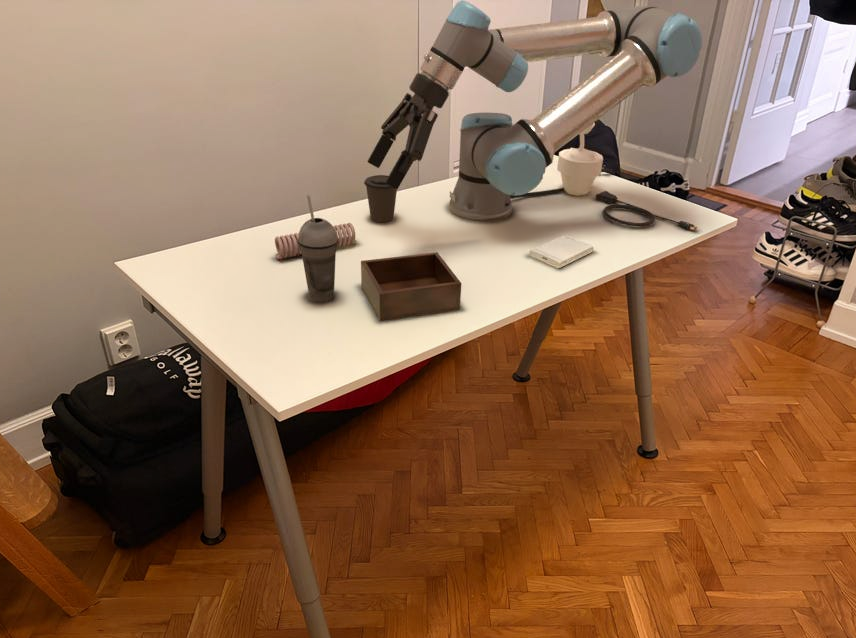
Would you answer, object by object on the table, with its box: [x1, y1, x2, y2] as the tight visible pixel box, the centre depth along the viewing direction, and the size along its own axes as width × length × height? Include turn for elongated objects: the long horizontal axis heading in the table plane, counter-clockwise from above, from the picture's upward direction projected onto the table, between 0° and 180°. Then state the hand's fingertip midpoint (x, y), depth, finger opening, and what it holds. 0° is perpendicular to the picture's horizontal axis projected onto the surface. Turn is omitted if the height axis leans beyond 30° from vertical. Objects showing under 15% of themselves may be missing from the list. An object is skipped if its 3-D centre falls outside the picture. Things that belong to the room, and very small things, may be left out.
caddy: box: [360, 251, 462, 322], centre depth 137 cm, size 16×14×6 cm
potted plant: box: [556, 115, 609, 197], centre depth 185 cm, size 13×12×25 cm
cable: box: [595, 190, 698, 231], centre depth 178 cm, size 14×28×2 cm, turn 44°
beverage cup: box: [298, 194, 339, 303], centre depth 132 cm, size 7×7×20 cm
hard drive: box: [529, 234, 594, 269], centre depth 158 cm, size 2×8×12 cm
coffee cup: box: [363, 174, 398, 225], centre depth 166 cm, size 8×8×10 cm
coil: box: [274, 222, 357, 260], centre depth 152 cm, size 5×5×18 cm
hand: (381, 175), depth 148 cm, fingers open, 13 cm apart
